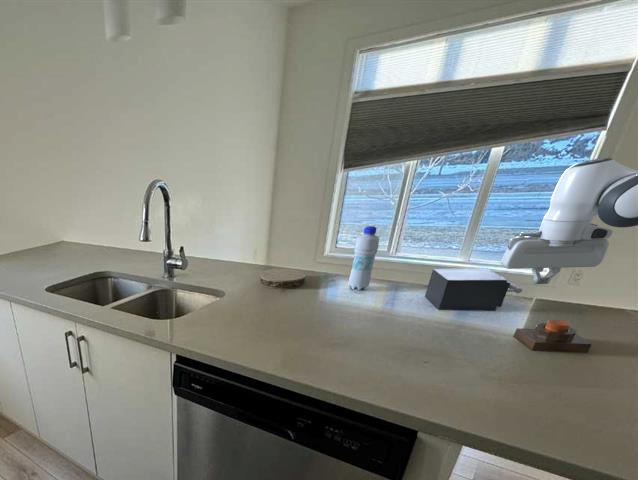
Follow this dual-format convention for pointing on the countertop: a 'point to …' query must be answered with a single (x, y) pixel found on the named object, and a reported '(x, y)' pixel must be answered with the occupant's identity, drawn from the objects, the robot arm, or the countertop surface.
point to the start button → (557, 326)
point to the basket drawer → (511, 289)
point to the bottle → (364, 259)
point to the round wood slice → (282, 278)
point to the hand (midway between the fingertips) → (540, 283)
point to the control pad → (551, 340)
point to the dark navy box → (465, 289)
